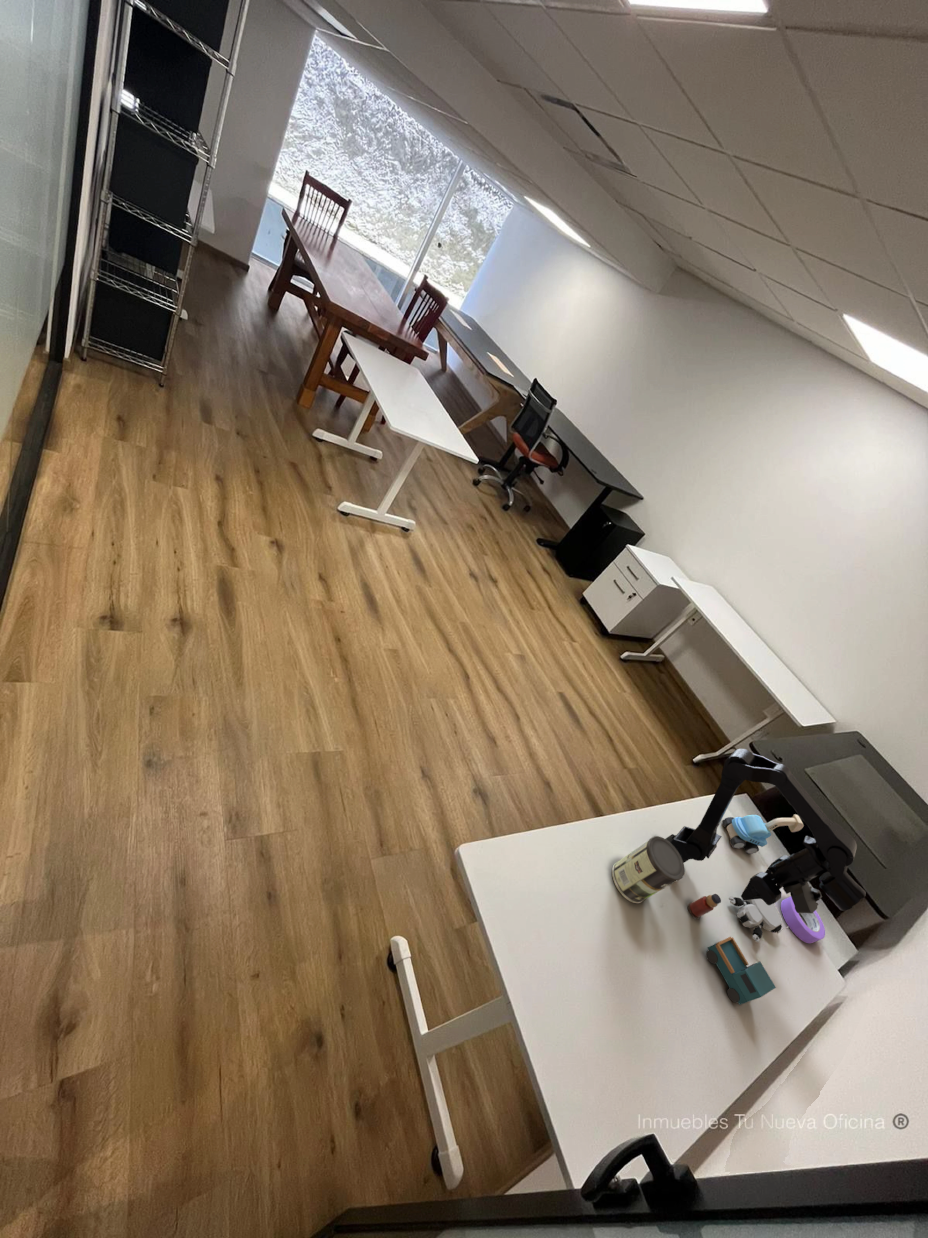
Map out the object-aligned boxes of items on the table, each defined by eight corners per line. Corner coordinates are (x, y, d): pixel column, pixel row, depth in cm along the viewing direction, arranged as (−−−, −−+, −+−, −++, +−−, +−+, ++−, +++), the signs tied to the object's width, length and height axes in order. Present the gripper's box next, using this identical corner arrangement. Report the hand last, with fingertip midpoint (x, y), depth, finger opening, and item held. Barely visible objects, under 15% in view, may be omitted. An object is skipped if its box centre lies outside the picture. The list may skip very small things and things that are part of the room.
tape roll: (821, 941, 153) (832, 936, 151) (799, 946, 147) (811, 941, 145) (794, 898, 161) (805, 893, 158) (773, 901, 155) (783, 896, 153)
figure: (687, 913, 135) (711, 900, 131) (687, 900, 139) (710, 887, 134) (699, 922, 135) (724, 909, 131) (699, 908, 138) (723, 896, 134)
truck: (702, 950, 129) (726, 938, 125) (718, 942, 134) (742, 931, 129) (734, 1007, 122) (760, 997, 118) (750, 997, 127) (776, 987, 122)
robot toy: (749, 949, 138) (779, 931, 147) (762, 943, 136) (791, 926, 144) (719, 900, 145) (748, 886, 154) (731, 894, 143) (760, 880, 151)
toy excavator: (766, 861, 167) (813, 836, 157) (727, 847, 162) (772, 820, 152) (755, 835, 173) (799, 810, 164) (717, 821, 169) (760, 794, 159)
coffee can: (651, 890, 135) (691, 866, 127) (633, 912, 127) (674, 888, 119) (623, 854, 139) (660, 829, 131) (604, 872, 131) (642, 847, 124)
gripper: (816, 916, 114) (757, 940, 122) (842, 888, 126) (788, 912, 134) (777, 865, 119) (724, 891, 128) (806, 843, 131) (756, 869, 140)
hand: (750, 892), depth 132 cm, fingers open, 9 cm apart
